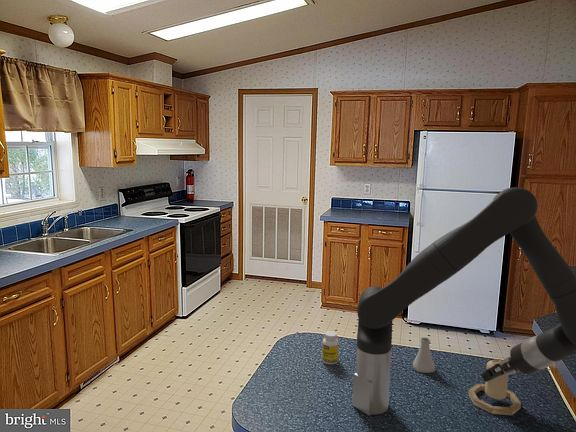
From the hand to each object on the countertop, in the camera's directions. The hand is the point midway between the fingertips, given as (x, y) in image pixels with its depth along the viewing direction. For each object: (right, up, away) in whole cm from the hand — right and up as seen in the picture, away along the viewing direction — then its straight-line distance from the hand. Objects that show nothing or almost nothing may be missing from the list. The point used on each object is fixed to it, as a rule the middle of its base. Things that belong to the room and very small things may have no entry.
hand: (491, 375), depth 120 cm
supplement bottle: (-44, -3, +22) cm, 49 cm away
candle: (+1, -5, -1) cm, 5 cm away
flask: (-14, -4, +18) cm, 23 cm away
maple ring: (+1, -7, 0) cm, 7 cm away
